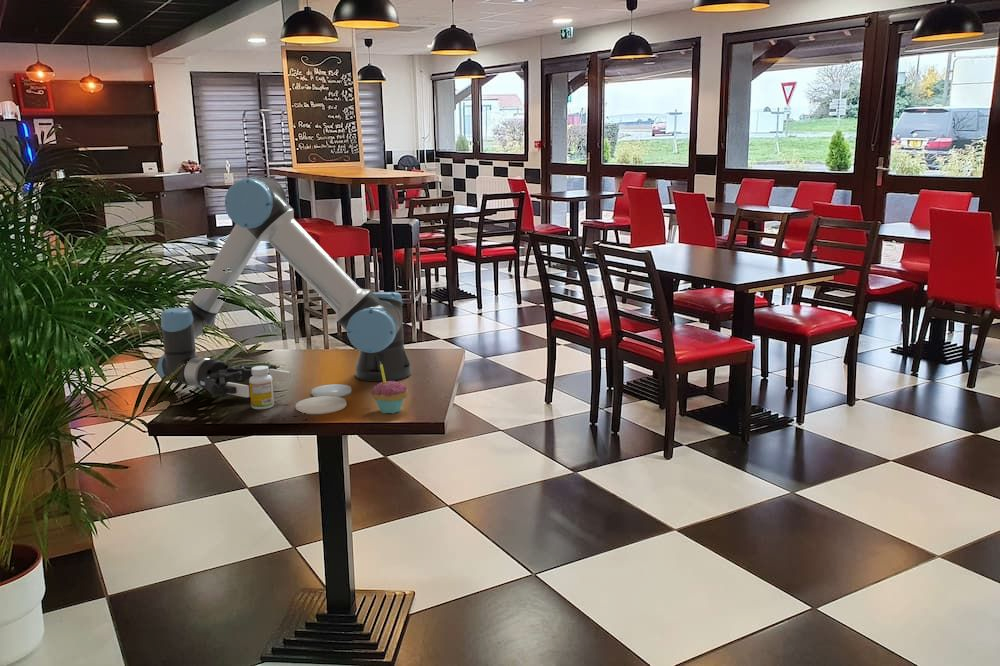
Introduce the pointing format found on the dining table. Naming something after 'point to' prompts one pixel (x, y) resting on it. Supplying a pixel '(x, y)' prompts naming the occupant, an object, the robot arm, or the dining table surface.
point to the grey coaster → (331, 390)
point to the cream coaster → (321, 405)
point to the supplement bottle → (261, 388)
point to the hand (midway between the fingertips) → (269, 384)
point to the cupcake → (389, 394)
